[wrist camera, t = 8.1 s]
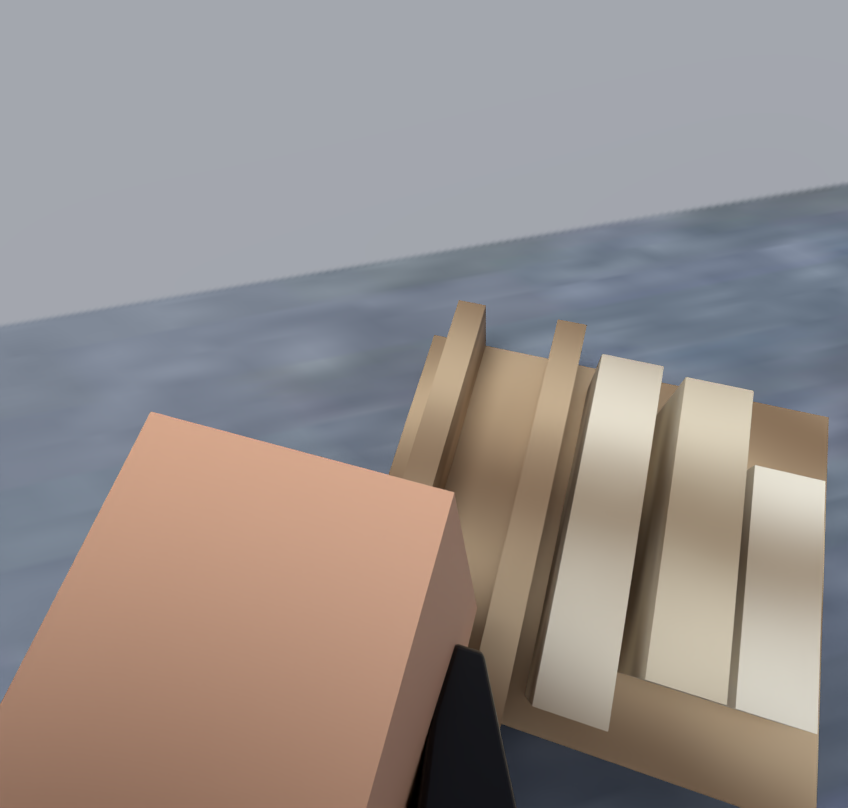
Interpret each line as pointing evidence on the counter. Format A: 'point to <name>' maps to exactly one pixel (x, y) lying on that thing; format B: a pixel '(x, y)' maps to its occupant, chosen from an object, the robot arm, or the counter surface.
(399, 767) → the tall panel
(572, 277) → the counter surface
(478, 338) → the offcut rack
